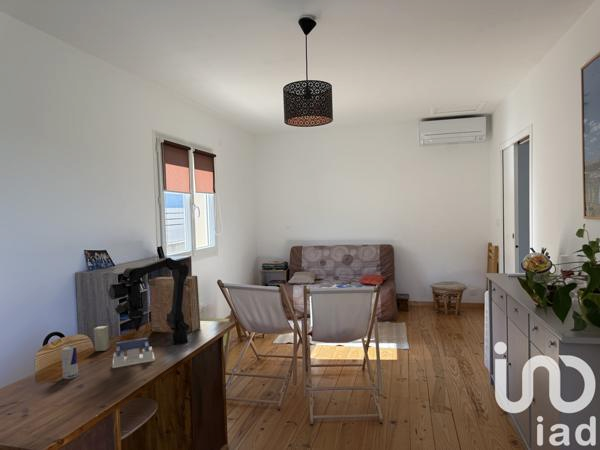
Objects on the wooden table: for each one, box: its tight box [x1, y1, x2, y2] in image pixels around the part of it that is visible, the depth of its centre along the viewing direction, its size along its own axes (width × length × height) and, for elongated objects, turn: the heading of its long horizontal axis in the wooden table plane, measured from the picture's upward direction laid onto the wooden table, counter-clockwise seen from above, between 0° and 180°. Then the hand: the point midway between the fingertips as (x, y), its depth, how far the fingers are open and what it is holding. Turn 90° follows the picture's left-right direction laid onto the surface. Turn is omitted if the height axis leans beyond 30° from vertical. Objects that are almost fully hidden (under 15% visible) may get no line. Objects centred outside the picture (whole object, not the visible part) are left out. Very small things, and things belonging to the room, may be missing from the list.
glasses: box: [115, 337, 150, 357], centre depth 181 cm, size 10×13×4 cm
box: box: [93, 325, 111, 352], centre depth 202 cm, size 5×4×11 cm
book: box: [148, 275, 201, 334], centre depth 229 cm, size 25×9×30 cm, turn 74°
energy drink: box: [60, 345, 79, 380], centre depth 168 cm, size 5×5×12 cm
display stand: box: [111, 346, 155, 369], centre depth 183 cm, size 10×17×5 cm, turn 113°
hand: (136, 328), depth 190 cm, fingers open, 9 cm apart
